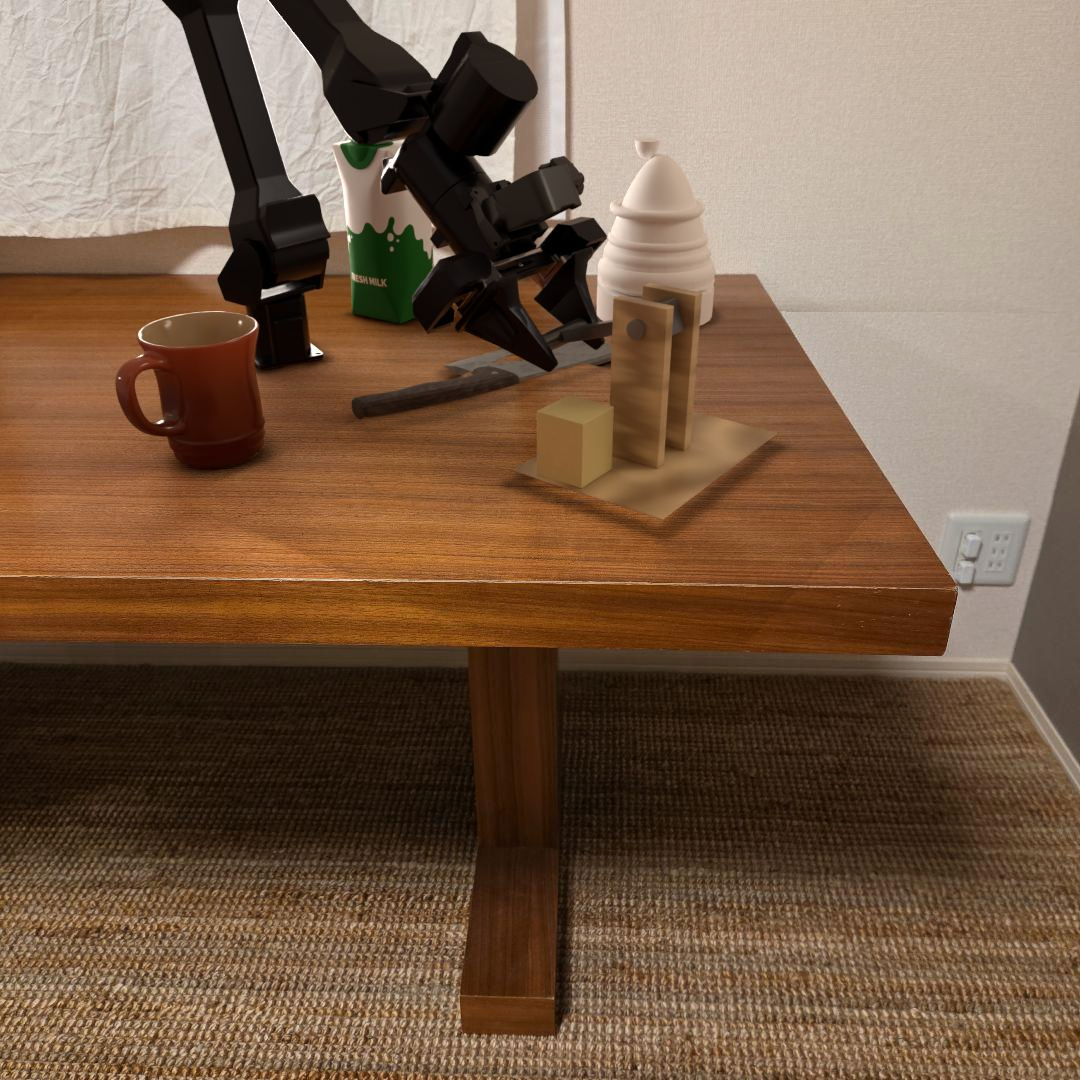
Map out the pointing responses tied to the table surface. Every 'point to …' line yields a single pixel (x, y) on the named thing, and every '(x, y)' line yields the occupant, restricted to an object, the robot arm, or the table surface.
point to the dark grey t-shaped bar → (599, 328)
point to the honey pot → (656, 237)
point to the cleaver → (474, 380)
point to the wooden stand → (660, 411)
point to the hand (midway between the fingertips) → (577, 357)
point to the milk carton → (382, 234)
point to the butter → (574, 440)
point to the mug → (200, 387)
